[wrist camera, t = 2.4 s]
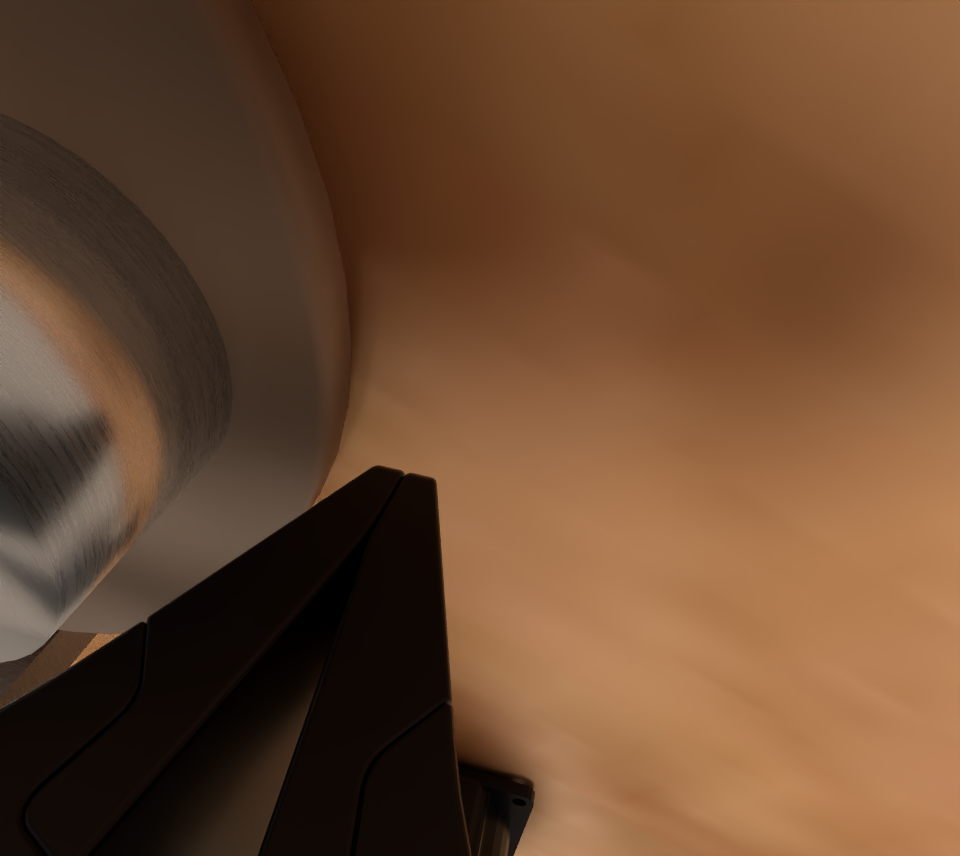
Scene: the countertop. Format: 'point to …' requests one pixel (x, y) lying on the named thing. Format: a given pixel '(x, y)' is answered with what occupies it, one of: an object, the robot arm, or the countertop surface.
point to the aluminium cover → (90, 382)
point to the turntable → (204, 251)
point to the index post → (41, 664)
